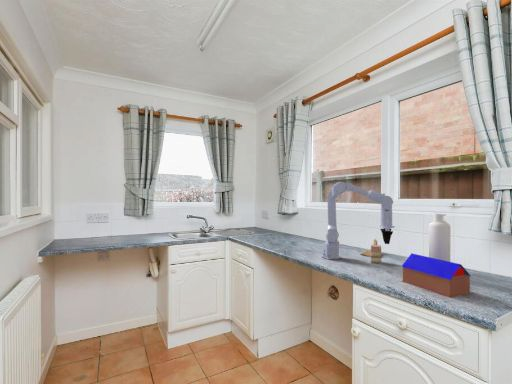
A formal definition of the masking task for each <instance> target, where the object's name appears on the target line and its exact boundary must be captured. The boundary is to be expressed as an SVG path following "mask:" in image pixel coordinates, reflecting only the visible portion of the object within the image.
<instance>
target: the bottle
mask: <svg viewBox="0 0 512 384" xmlns="http://www.w3.org/2000/svg"><path fill="white" fill-rule="evenodd" d="M428 257H430V258H435V259H439V260H444V261H448V262H451V225H450V224H449V223H448V222H447V215H446V213H433V220H432V222H430V223H429V225H428Z"/></svg>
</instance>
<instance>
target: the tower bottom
mask: <svg viewBox="0 0 512 384" xmlns="http://www.w3.org/2000/svg"><path fill="white" fill-rule="evenodd" d="M370 263H371V264H380V265H382V257H381V258H371V257H370Z"/></svg>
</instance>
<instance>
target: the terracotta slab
mask: <svg viewBox="0 0 512 384" xmlns="http://www.w3.org/2000/svg"><path fill="white" fill-rule="evenodd" d="M370 251H371V252H378V253H381V254H382V245H378V244H377V245H374V244H370Z"/></svg>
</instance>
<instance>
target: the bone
mask: <svg viewBox="0 0 512 384" xmlns="http://www.w3.org/2000/svg"><path fill="white" fill-rule="evenodd" d="M373 245H378V240H377V239H376V238H375V239H373ZM359 254H360V255H363V256H365V257H366V256H367V257H370V258H371V250H364V251H362V252H360V253H359Z"/></svg>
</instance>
